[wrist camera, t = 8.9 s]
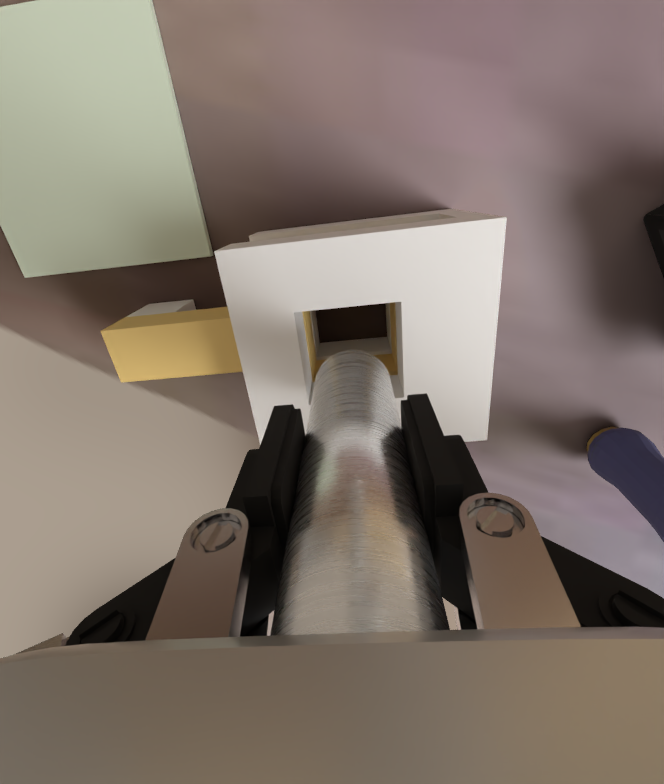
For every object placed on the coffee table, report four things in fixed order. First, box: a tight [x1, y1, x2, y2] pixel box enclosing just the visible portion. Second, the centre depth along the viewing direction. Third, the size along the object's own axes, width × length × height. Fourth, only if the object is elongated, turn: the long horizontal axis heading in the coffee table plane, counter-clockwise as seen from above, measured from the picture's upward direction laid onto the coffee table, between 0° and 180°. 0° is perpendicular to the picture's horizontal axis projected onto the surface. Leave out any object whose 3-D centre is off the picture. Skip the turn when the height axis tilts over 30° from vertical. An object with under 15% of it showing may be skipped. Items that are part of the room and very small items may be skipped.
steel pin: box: [270, 350, 450, 636], centre depth 9 cm, size 4×4×14 cm
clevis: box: [101, 209, 507, 445], centre depth 21 cm, size 10×19×8 cm, turn 96°
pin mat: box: [0, 0, 213, 278], centre depth 21 cm, size 12×12×1 cm
